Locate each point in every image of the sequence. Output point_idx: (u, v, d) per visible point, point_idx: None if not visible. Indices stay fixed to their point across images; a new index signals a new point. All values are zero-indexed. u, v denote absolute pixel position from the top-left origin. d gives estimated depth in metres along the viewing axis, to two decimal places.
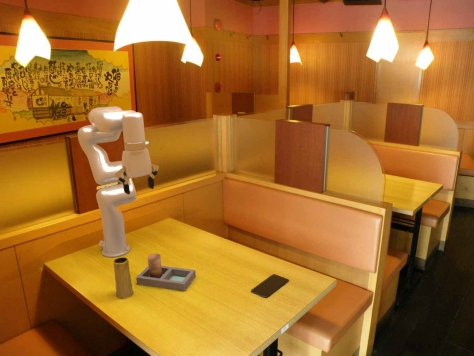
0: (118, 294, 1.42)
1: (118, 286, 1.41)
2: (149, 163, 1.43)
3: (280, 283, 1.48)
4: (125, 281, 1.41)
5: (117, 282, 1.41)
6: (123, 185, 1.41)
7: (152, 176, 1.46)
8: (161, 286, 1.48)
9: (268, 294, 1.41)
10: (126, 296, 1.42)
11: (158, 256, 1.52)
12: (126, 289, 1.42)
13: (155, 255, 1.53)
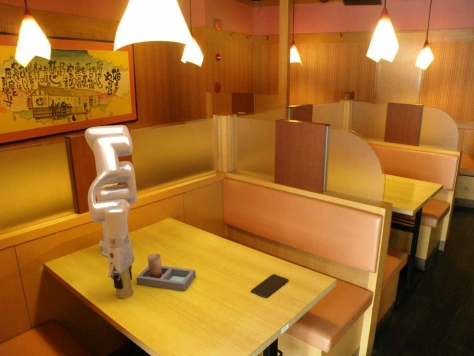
0: (118, 294, 1.42)
1: None
2: None
3: (280, 283, 1.48)
4: (125, 281, 1.41)
5: None
6: None
7: None
8: (161, 286, 1.48)
9: (268, 294, 1.41)
10: (126, 296, 1.42)
11: (158, 256, 1.52)
12: (126, 289, 1.42)
13: (155, 255, 1.53)
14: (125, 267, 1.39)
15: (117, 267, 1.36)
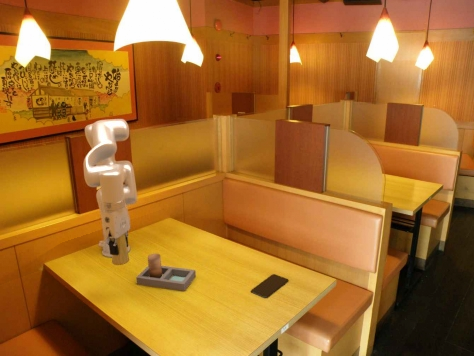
0: (114, 261, 1.39)
1: None
2: None
3: (280, 283, 1.48)
4: (121, 247, 1.38)
5: None
6: None
7: None
8: (161, 286, 1.48)
9: (268, 294, 1.41)
10: (122, 263, 1.39)
11: (158, 256, 1.52)
12: (122, 256, 1.38)
13: (155, 255, 1.53)
14: (121, 233, 1.36)
15: (113, 232, 1.32)
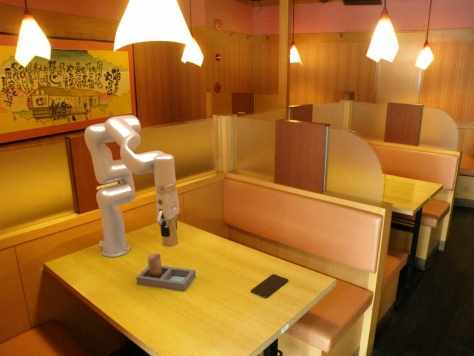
0: (164, 242, 1.44)
1: None
2: None
3: (280, 283, 1.48)
4: (172, 229, 1.43)
5: None
6: None
7: None
8: (161, 286, 1.48)
9: (268, 294, 1.41)
10: (172, 244, 1.44)
11: (158, 256, 1.52)
12: (172, 237, 1.44)
13: (155, 255, 1.53)
14: (172, 215, 1.41)
15: (165, 214, 1.38)
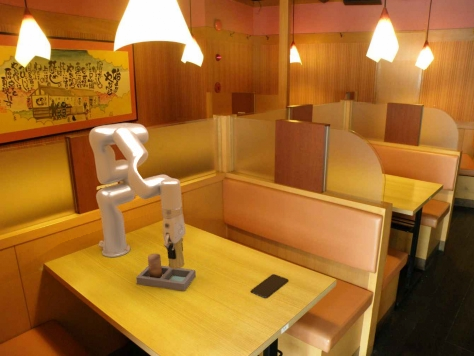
0: (171, 264, 1.47)
1: None
2: None
3: (280, 283, 1.48)
4: (178, 252, 1.46)
5: None
6: None
7: None
8: (161, 286, 1.48)
9: (268, 294, 1.41)
10: (179, 266, 1.47)
11: (158, 256, 1.52)
12: (179, 259, 1.47)
13: (155, 255, 1.53)
14: (179, 238, 1.45)
15: (172, 237, 1.41)
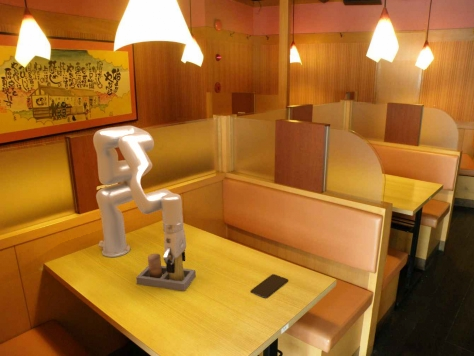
0: None
1: (172, 273, 1.49)
2: None
3: (279, 283, 1.48)
4: (179, 268, 1.48)
5: None
6: (183, 252, 1.55)
7: None
8: (161, 286, 1.48)
9: (268, 294, 1.41)
10: None
11: (158, 256, 1.52)
12: (179, 276, 1.49)
13: (155, 255, 1.53)
14: (180, 252, 1.46)
15: (173, 252, 1.43)
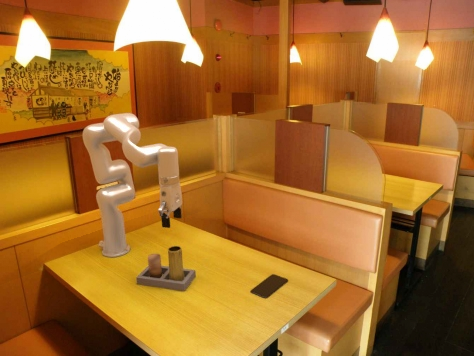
0: None
1: (172, 273, 1.49)
2: None
3: (279, 283, 1.48)
4: (179, 268, 1.48)
5: (171, 269, 1.48)
6: None
7: None
8: (161, 286, 1.48)
9: (267, 294, 1.41)
10: None
11: (158, 256, 1.52)
12: (179, 276, 1.49)
13: (155, 255, 1.53)
14: (175, 207, 1.44)
15: (169, 205, 1.40)
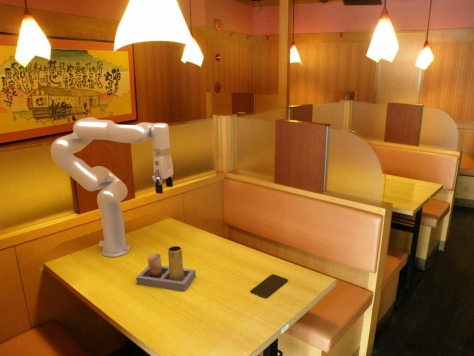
0: None
1: (172, 273, 1.49)
2: None
3: (279, 283, 1.48)
4: (179, 268, 1.48)
5: (171, 269, 1.48)
6: None
7: None
8: (161, 286, 1.48)
9: (267, 294, 1.41)
10: None
11: (158, 256, 1.52)
12: (179, 276, 1.49)
13: (155, 255, 1.53)
14: (167, 175, 1.65)
15: (161, 173, 1.62)
